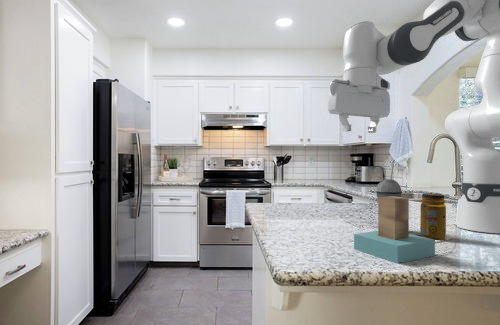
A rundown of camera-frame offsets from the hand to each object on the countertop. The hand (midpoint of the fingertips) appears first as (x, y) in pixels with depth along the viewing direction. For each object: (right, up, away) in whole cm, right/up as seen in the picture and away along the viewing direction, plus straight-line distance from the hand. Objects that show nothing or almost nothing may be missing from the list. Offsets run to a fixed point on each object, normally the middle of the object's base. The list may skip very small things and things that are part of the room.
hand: (359, 132), depth 88 cm
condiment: (+19, -29, -2) cm, 35 cm away
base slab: (+2, -29, -16) cm, 33 cm away
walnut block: (+2, -26, -16) cm, 30 cm away
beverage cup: (+12, -29, +8) cm, 32 cm away
